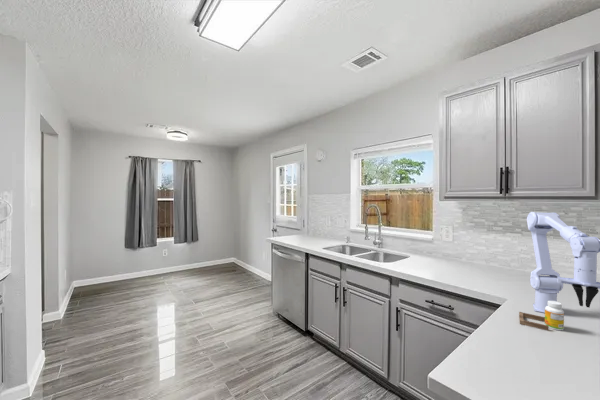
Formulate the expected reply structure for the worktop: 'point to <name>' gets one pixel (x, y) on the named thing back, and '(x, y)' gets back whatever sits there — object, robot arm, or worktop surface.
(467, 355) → the worktop surface
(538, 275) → the robot arm
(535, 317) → the walnut stop
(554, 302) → the supplement bottle
